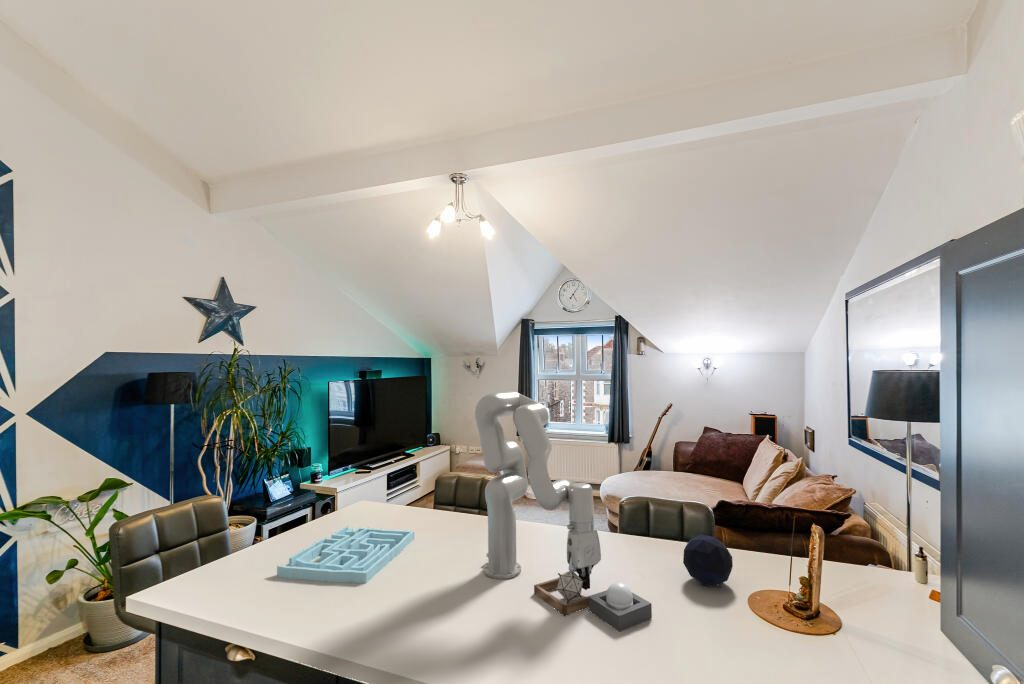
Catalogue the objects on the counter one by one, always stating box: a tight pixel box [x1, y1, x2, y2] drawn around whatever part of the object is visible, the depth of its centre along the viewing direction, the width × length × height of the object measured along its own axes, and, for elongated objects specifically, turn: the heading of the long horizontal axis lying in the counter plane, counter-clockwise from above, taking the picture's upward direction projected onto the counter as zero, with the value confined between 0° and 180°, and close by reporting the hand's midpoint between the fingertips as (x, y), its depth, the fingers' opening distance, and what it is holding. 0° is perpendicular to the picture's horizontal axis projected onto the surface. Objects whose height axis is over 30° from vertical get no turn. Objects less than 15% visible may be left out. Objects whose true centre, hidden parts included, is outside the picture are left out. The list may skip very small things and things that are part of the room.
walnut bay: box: [533, 577, 601, 617], centre depth 137 cm, size 15×14×2 cm
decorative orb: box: [682, 534, 734, 587], centre depth 146 cm, size 14×15×15 cm
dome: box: [606, 581, 633, 610], centre depth 128 cm, size 7×7×7 cm
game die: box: [553, 570, 586, 604], centre depth 136 cm, size 9×8×10 cm
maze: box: [276, 526, 415, 584], centre depth 170 cm, size 40×33×4 cm
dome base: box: [588, 589, 653, 632], centre depth 128 cm, size 12×12×4 cm
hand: (584, 587), depth 139 cm, fingers closed
